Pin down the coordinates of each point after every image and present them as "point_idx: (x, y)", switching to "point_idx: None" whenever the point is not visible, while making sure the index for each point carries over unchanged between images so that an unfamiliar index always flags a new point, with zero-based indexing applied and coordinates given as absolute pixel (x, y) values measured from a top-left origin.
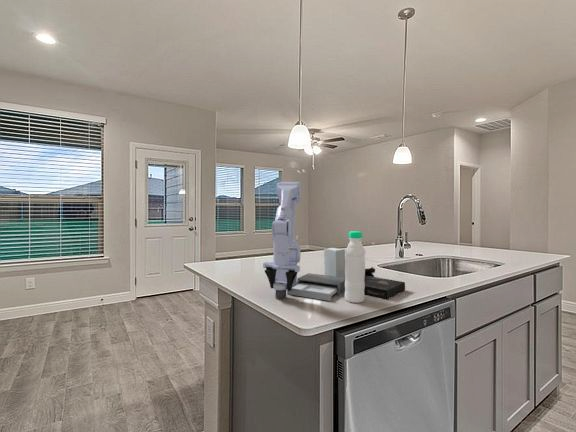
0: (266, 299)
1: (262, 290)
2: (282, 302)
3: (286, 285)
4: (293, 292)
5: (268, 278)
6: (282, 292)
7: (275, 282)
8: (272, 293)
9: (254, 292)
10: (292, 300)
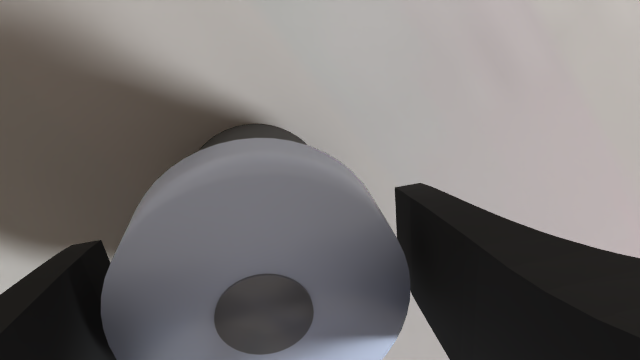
0: (361, 13)
1: None
2: (89, 43)
3: (106, 304)
4: None
5: (556, 243)
6: None
7: (394, 295)
8: None
9: (634, 147)
10: (61, 195)
